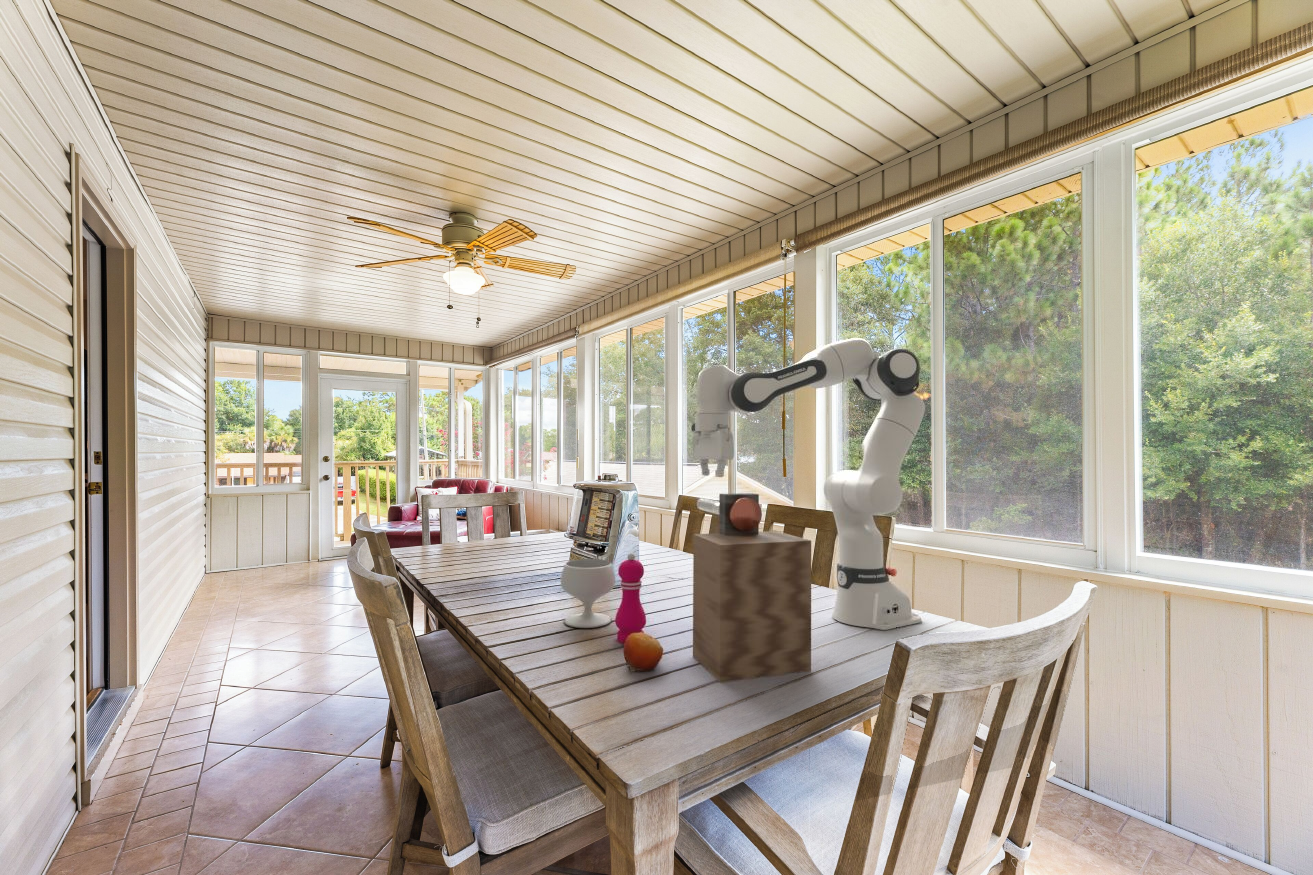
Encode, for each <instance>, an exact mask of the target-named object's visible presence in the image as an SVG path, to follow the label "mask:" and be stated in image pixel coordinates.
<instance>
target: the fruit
mask: <svg viewBox="0 0 1313 875" xmlns="http://www.w3.org/2000/svg"><path fill="white" fill-rule="evenodd" d="M622 652H623V658H624V661H625V664H626V665H625V666H626V667H627V666H629V669H630V672H629V674H630V675H631V674H632V673H633V672H634V671H645V672H648V671H653V670H655V669H656V668H657V666H658V665H659V663H660V661H661V660H662V658H663V653H664V647H663V646H662V645H661V643H660V641H659V640H658V639H657V638H654V637H653V636H652V635H650V634H648V633H645V632H644V633H643V632H640V633H632V634H630V635H629V636H628V637H627V639H626V641H625V643H624V645H623V649H622Z"/></svg>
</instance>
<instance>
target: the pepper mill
mask: <svg viewBox="0 0 1313 875" xmlns="http://www.w3.org/2000/svg"><path fill="white" fill-rule="evenodd" d="M617 572H618V576H619V578H620V579H621V580H620V582H619V583H620V586H619V587H620V588H621V589H622V590H621V592H622V595H621V596H622V597H621V602H620V604H619V607H618V609H617V612H616V614H615V618H614V623H615V626H616V627H617V629H618V630H617V632H616V638H617V639H616V640H617V641H618V642H619V643H621V644H625V641H626V639H627V637H628V636H629V635H630V634H632V633H640V632H643V633H645V632H644V630H643V629H644V627H645V626H646V624H647V615H646V612H645V610H644V607H643V605H642V603H641V602H642V601H641V598H640V592H641V588H642V586H643V585H642V581H643V580H642V577H643V576H644V574H645V568H644V565H643V564H642V562H641V561H640V560H637V559H636V555H635V554H634V553H632V552H630V553H628V555H627V559H626V560H624V561H622V562H621V563H620V564H619V566H618V570H617Z"/></svg>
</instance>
